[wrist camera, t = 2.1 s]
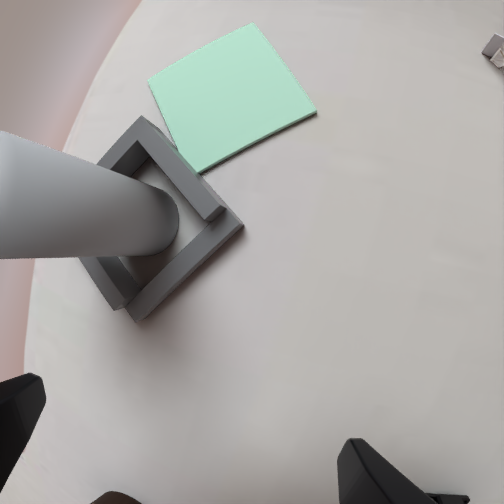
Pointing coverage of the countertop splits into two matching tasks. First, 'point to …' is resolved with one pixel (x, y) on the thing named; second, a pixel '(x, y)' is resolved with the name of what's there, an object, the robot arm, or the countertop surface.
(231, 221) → the gray square frame
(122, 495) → the coffee mug
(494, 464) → the countertop surface
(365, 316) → the countertop surface
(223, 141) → the pad
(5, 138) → the capped gray cylinder
